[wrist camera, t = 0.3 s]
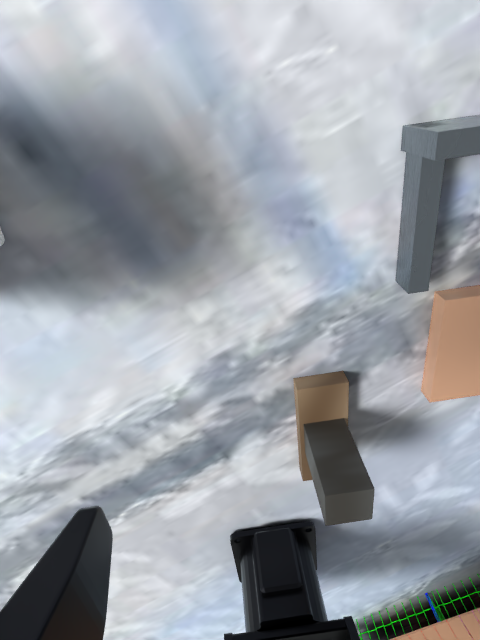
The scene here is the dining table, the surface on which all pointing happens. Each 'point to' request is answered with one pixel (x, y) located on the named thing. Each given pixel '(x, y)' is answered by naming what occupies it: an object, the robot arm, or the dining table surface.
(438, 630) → the house
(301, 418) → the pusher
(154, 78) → the dining table surface
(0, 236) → the jar
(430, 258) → the grey u-shaped frame
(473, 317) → the tile
